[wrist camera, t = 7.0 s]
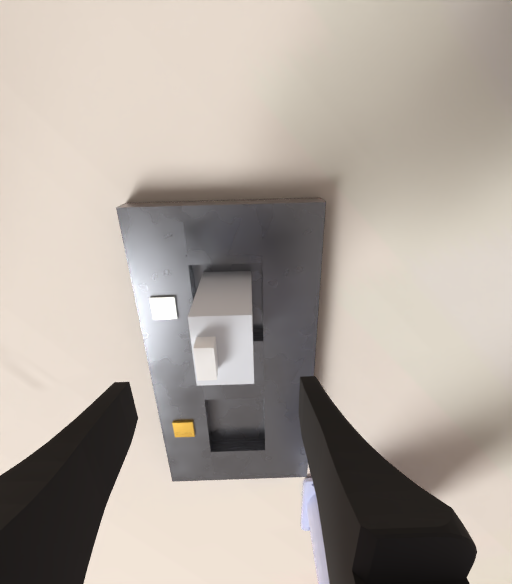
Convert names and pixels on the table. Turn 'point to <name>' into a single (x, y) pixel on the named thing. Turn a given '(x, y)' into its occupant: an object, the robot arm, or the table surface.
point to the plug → (222, 329)
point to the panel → (266, 328)
